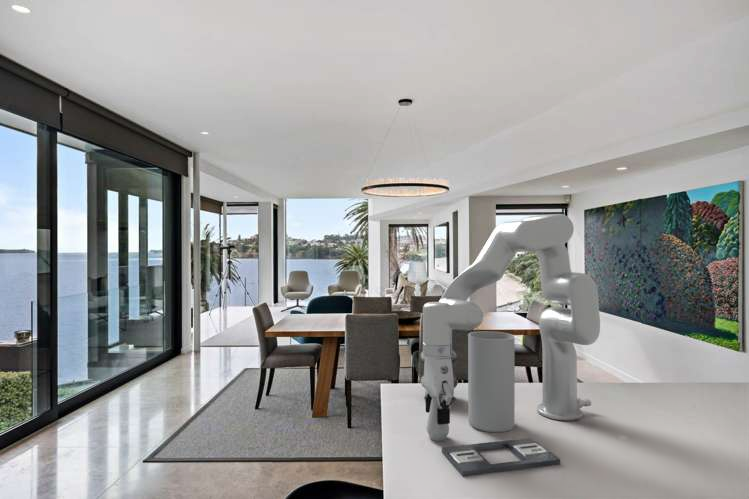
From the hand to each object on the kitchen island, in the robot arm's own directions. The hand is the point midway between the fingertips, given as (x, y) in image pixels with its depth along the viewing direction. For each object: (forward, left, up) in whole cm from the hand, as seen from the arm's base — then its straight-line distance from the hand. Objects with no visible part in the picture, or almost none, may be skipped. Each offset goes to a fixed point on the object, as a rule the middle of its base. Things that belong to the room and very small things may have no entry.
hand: (437, 417), depth 117 cm
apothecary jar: (-12, -29, -6) cm, 32 cm away
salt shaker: (0, 0, -6) cm, 6 cm away
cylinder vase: (-18, -5, -6) cm, 20 cm away
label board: (-10, +14, -5) cm, 18 cm away
